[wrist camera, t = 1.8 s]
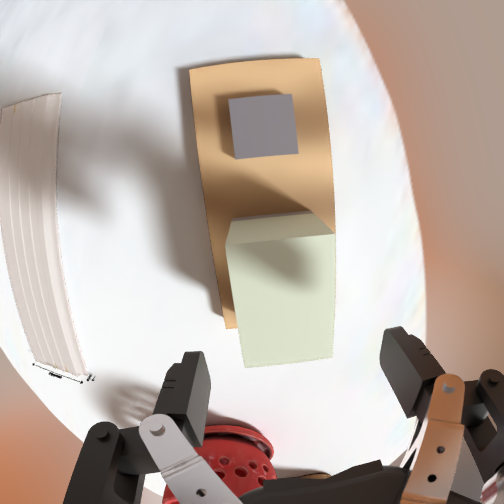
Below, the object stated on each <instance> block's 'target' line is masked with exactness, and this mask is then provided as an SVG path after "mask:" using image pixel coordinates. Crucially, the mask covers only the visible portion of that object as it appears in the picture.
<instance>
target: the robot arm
mask: <svg viewBox="0 0 504 504" xmlns="http://www.w3.org/2000/svg"><path fill="white" fill-rule="evenodd" d="M380 365H381V368H382V370H383V372H384V374H385V376H386V377H387V379H388V381H389V383H390V385H391V387H392V389H393V391H394V393H395V395H396V397H397V399H398V401H399V403H400V405H401V407H402V409H403V411H404V413H405V415H406V417H407V419H408V418H411V417H414V416H417V418H418V421H417V423H416V426H415V429H414V432H413V435H412V438H411V441H410V444H409V446H408V449H407V452H406V454H405V457H404V459H403V461H402V463H401V465H400V467H396V466H382V463H381V461H380V460H376V461H373V462H369V463H366V464H362V465H358V466H354V467H351V468H349V469H347V470H345V471H343V472H340V473H338V474H336V475H333V476H331V477H329V478H326V479H311V478H296V477H291V478H281V479H269V480H263V487H259V488H256V489H253V490H251V491H249V492H246V493H244V494H243V495H241V496H240V497H238V498H237V497H236V496H235V494H234V493H233V492H232V491H231V490H230V489H229V488H228V487H227V486H226V485H225V484H224V482H223V481H222V480H221V479H220V478H219V477H218V476H217V474H216V473H215V472H214V471H213V470H212V469H211V467H210V466H209V465H208V464H207V463H206V461H205V460H204V459H203V458H202V457H201V456H200V455H198V454H197V453H196V451H195V450H194V447H202V444H203V437H204V430H205V423H206V417H207V410H208V403H209V397H210V390H211V380H210V375H209V372H208V368H207V364H206V361H205V357H204V354H203V352H202V351H195V352H185V353H184V356H183V359H182V362H181V363H174V364H173V365H172V366H171V368H170V369H169V370H168V371H167V373H166V376H165V379H164V380H165V381H164V382H163V385H162V388H161V391H160V394H159V397H158V400H157V403H156V406H155V409H154V412H153V415H151V416H148V417H147V418H145V419H144V420H143V421H142V422H141V424H140V426H137V427H132V428H125V429H118V428H117V426H116V425H115V424H113V423H111V422H99V423H97V424H95V425H93V426H92V427H91V428H90V430H89V431H88V434H87V436H86V439H85V441H84V444H83V447H82V449H81V452H80V454H79V457H78V460H77V463H76V465H75V468H74V471H73V474H72V477H71V480H70V483H69V486H68V489H67V492H66V495H65V498H64V501H63V504H140V502H141V496H142V490H143V485H144V479H145V474H149V473H156V472H161V475H162V477H163V479H164V480H165V482H166V484H167V485H168V487H169V488H170V490H171V491H172V493H173V494H174V496H175V497H176V499H177V500H178V501H179V503H180V504H504V375H503V374H502V373H501V372H499V371H497V370H493V369H489V370H486V371H484V372H483V373H482V374H481V376H480V378H479V380H474V381H465V382H463V380H462V379H461V378H460V377H459V376H457V375H454V374H446V373H445V371H444V370H443V369H442V367H441V366H440V364H439V363H438V362H437V360H436V359H435V358H434V356H433V355H432V354H430V351H429V350H428V349H427V348H426V346H425V345H424V343H423V342H422V341H421V340H420V339H419V338H417V337H415V336H414V335H412V334H411V335H408V334H407V332H406V331H405V330H404V329H403V327H401V326H398V327H394V328H389V329H386V330H385V331H384V334H383V340H382V346H381V351H380ZM489 413H490V415H491V417H492V418H493V420H494V422H495V423H496V425H497V432H496V430H495V428H494V426H493V425H492V423H491V421H490V419H489V418H488V414H489ZM463 437H464V439H465V441H466V443H467V445H468V447H469V449H470V451H471V453H472V456H473V458H474V460H475V462H476V465H477V467H478V469H479V472H480V474H481V476H482V479H483V481H484V486H483V489H482V496H481V497H480V501H481V503H480V502H477V501H474V500H472V499H470V498H467V497H465V496H462V495H460V494H458V493H455V492H453V491H451V490H450V489H451V485H452V482H453V478H454V475H455V471H456V467H457V463H458V459H459V454H460V450H461V444H462V440H463Z"/></svg>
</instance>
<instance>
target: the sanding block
mask: <svg viewBox="0 0 504 504" xmlns="http://www.w3.org/2000/svg"><path fill="white" fill-rule="evenodd" d="M225 249H226V256H227V263H228V269H229V276H230V282H231V289H232V295H233V301H234V308H235V314H236V320H237V326H238V332H239V338H240V344H241V350H242V355H243V361H244V367H245V368H250V367H262V366H272V365H281V364H290V363H298V362H305V361H313V360H319V359H326V358H332V353H333V338H334V319H335V287H336V237H335V233H334V232H333V231H332V230H331V229H330V228H329V227H328V226H327V225H326V224H325V223H324V222H323V221H322V220H321V219H320V218H319V217H318V216H316V215H315V214H314V213H313V212H312V211H311V210H310V211H299V212H288V213H278V214H268V215H258V216H249V217H240V218H232V221H231V225H230V228H229V232H228V236H227V239H226V243H225Z"/></svg>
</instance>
